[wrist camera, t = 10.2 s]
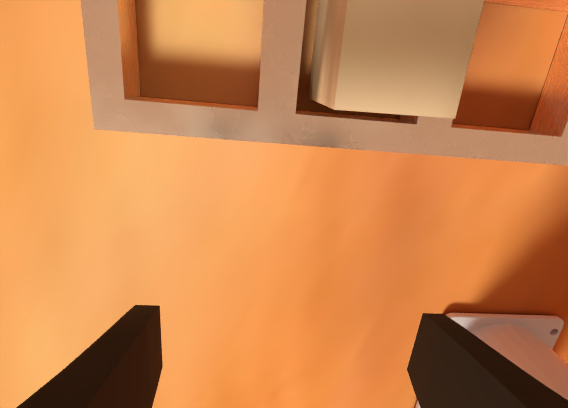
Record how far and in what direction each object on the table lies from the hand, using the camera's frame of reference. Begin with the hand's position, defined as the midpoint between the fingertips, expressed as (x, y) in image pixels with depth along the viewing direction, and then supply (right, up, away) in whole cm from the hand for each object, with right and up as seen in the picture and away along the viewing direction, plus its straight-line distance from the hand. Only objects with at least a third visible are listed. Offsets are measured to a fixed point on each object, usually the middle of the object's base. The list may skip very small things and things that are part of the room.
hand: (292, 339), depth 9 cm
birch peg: (+3, +11, +6) cm, 13 cm away
